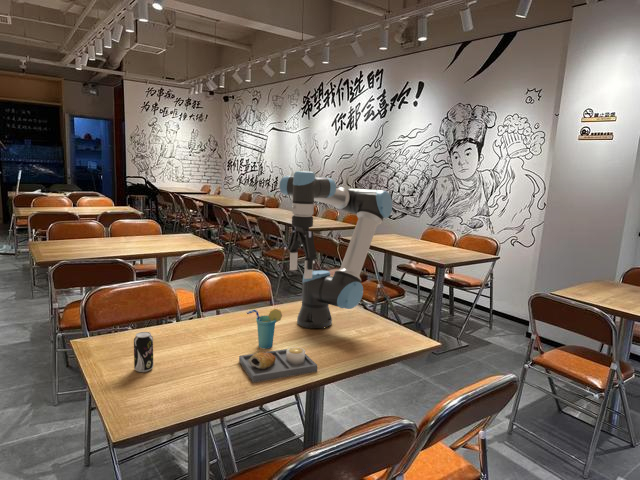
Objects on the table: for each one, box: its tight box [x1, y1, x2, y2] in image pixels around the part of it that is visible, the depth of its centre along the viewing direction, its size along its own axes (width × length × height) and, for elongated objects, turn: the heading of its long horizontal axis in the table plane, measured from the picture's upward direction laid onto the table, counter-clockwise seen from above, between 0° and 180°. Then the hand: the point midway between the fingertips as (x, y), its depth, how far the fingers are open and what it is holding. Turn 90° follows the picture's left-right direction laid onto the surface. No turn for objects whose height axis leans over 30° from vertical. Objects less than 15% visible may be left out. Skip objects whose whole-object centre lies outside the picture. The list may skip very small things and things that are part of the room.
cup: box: [246, 308, 283, 350], centre depth 164 cm, size 14×8×15 cm, turn 125°
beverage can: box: [133, 331, 154, 373], centre depth 142 cm, size 6×6×12 cm
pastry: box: [249, 351, 276, 369], centre depth 147 cm, size 9×7×4 cm
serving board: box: [238, 346, 318, 383], centre depth 149 cm, size 16×22×5 cm
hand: (300, 274), depth 160 cm, fingers open, 13 cm apart
